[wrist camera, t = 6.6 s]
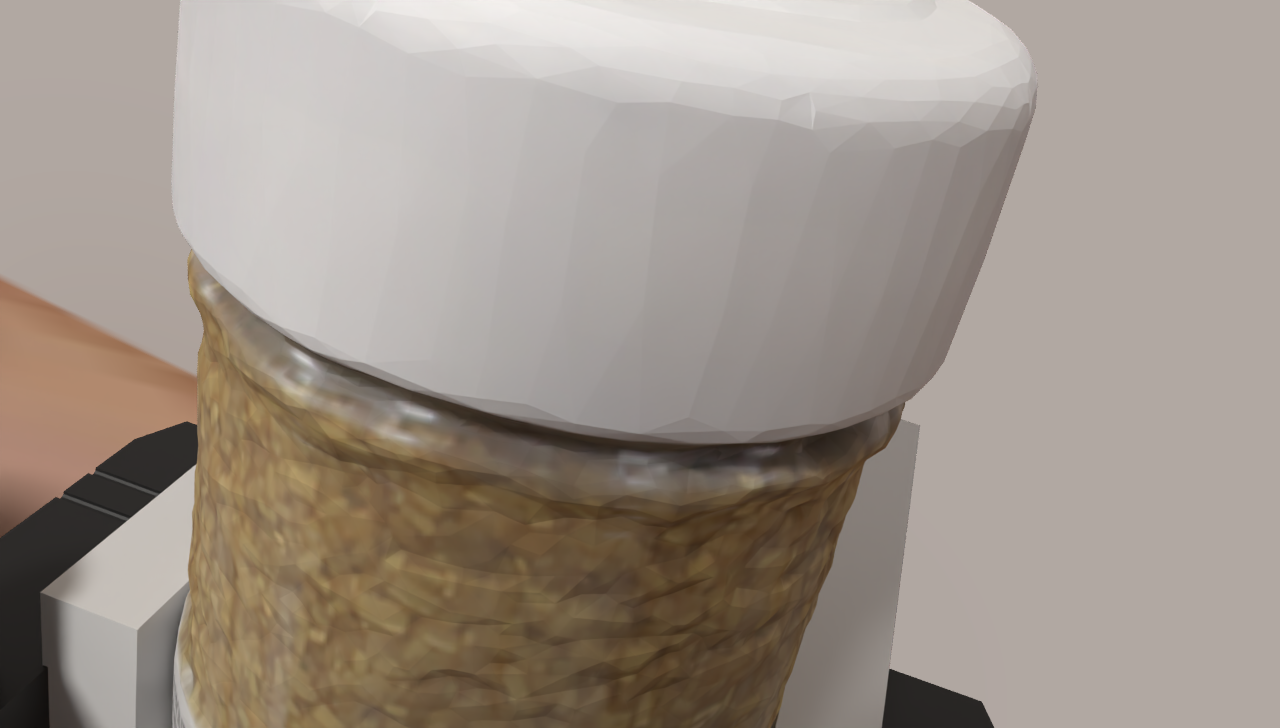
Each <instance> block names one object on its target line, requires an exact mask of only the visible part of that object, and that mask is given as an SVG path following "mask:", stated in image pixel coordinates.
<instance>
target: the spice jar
mask: <svg viewBox="0 0 1280 728" xmlns="http://www.w3.org/2000/svg"><path fill="white" fill-rule="evenodd" d="M1036 96H1037V72H1036V69H1035V66H1034V63H1033V61H1032V59H1031V56H1030V54H1029V52H1028V50H1027V48H1026V47H1025V45H1024V44H1023V43H1022V42H1021V41H1020V39H1019V38H1018V37H1017V36H1016V34H1015V33H1014V32H1013V31H1012V30H1011V29H1010V28H1009V27H1007V26H1006V25H1005V24H1003V23H1002V22H1001V21H999V20H998V19H997V18H995V17H994V16H992V15H991V14H989V13H988V12H986V11H985V10H983V9H981V8H980V7H979V6H977V5H976V4H974V3H972V2H970V1H968V0H180V11H179V27H178V44H177V60H176V76H175V95H174V123H173V124H174V125H173V153H172V154H173V155H172V183H171V185H172V203H173V210H174V214H175V217H176V221H177V224H178V227H179V229H180V231H181V233H182V235H183V236H184V238H185V239H186V241H187V242H188V244H189V246H190V247H191V252H190V254H189V257H188V281H189V289H190V295H191V296H192V298H193V300H194V302H195V304H196V306H197V308H198V310H199V312H200V314H201V317H202V321H203V326H204V333H203V338H202V343H201V346H200V349H199V352H198V368H197V434H198V455H197V464H196V469H195V482H194V506H193V510H192V537H191V545H190V554H189V562H188V578H189V586H190V590H189V593H188V595H187V597H186V600H185V604H184V608H183V613H182V617H181V621H180V625H179V630H178V637H177V644H176V650H175V657H174V677H173V707H172V728H771V726H772V724H773V722H774V720H775V718H776V716H777V714H778V712H779V710H780V708H781V705H782V700H783V695H784V690H785V685H786V683H787V681H788V679H789V677H790V675H791V673H792V670H793V667H794V664H795V661H796V658H797V655H798V651H799V648H800V645H801V642H802V639H803V636H804V632H805V629H806V627H807V625H808V623H809V622H810V620H811V618H812V616H813V613H814V610H815V608H816V605H817V601H818V595H819V592H820V590H821V588H822V586H823V584H824V582H825V579H826V577H827V575H828V573H829V571H830V569H831V567H832V564H833V559H834V553H835V549H836V545H837V541H838V537H839V534H840V532H841V530H842V527H843V524H844V521H845V517H846V515H847V513H848V511H849V509H850V508H851V506H852V504H853V501H854V499H855V497H856V493H857V489H858V485H859V482H860V477H861V474H862V470H863V466H864V463H865V461H866V460H867V459H869V458H870V457H872V456H874V455H875V454H877V453H878V452H880V451H882V450H883V449H885V448H886V447H887V445H888V443H889V442H890V440H891V438H892V437H893V435H894V433H895V432H896V430H897V427H898V425H899V423H900V420H901V415H902V411H903V409H904V406H905V402H906V401H908V400H910V399H911V398H912V397H913V396H914V395H915V394H916V393H917V392H918V391H920V389H922V388H923V386H925V384H927V383H928V382H929V381H930V380H931V379H932V378H933V376H934V375H935V374H936V372H937V371H938V369H939V368H940V366H941V365H942V364H943V362H944V360H945V358H946V355H947V353H948V350H949V348H950V345H951V342H952V340H953V338H954V335H955V333H956V330H957V327H958V325H959V322H960V320H961V317H962V315H963V312H964V310H965V307H966V305H967V302H968V299H969V297H970V295H971V292H972V289H973V287H974V284H975V282H976V279H977V277H978V274H979V272H980V269H981V267H982V264H983V261H984V259H985V256H986V253H987V250H988V247H989V244H990V242H991V239H992V236H993V233H994V230H995V227H996V224H997V221H998V218H999V215H1000V213H1001V210H1002V207H1003V204H1004V201H1005V198H1006V195H1007V192H1008V190H1009V186H1010V184H1011V180H1012V178H1013V175H1014V172H1015V169H1016V166H1017V163H1018V161H1019V157H1020V155H1021V152H1022V149H1023V146H1024V143H1025V140H1026V137H1027V134H1028V131H1029V128H1030V124H1031V121H1032V118H1033V115H1034V111H1035V108H1036Z"/></svg>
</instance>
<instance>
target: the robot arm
mask: <svg viewBox="0 0 1280 728" xmlns="http://www.w3.org/2000/svg"><path fill="white" fill-rule="evenodd" d="M919 430H920V425H916V424H914V423H910V422H907V421H904V420H900V423H899V425H898V427H897V430H896V432H895V433H894V435H893V437H892V438H891V440H890V442H889V443H888V445H887V447H886V448H885V449H883V450H882V451H880V452H878V453H877V454H875V455H874V456H872V457H870V458H869V459H867V460H866V461H865V463H864V466H863V470H862V474H861V477H860V482H859V485H858V489H857V493H856V497H855V499H854V501H853V504H852V506H851V508H850V509H849V511H848V513H847V515H846V517H845V521H844V524H843V527H842V530H841V532H840V534H839V537H838V541H837V545H836V549H835V553H834V559H833V564H832V567H831V569H830V571H829V573H828V575H827V577H826V579H825V582H824V584H823V586H822V588H821V590H820V592H819V595H818V601H817V605H816V608H815V610H814V613H813V616H812V618H811V620H810V622H809V623H808V625H807V627H806V629H805V632H804V636H803V639H802V642H801V645H800V648H799V651H798V655H797V658H796V661H795V664H794V667H793V670H792V673H791V675H790V677H789V679H788V681H787V683H786V685H785V690H784V695H783V700H782V705H781V708H780V710H779V712H778V714H777V716H776V718H775V720H774V722H773V724H772V726H771V728H994V726H993V724H992V722H991V720H990V718H989V716H988V714H987V712H986V710H985V708H984V705H983V703H982V702H981V701H978V700H975V699H973V698H970V697H967V696H964V695H962V694H959V693H956V692H953V691H950V690H947V689H945V688H942V687H939V686H936V685H934V684H931V683H928V682H925V681H922V680H920V679H917V678H914V677H911V676H908V675H905V674H903V673H900V672H897V671H894V670H892V669H889V666H890V658H891V650H892V642H893V633H894V627H895V618H896V611H897V602H898V595H899V587H900V578H901V571H902V564H903V556H904V548H905V540H906V532H907V524H908V515H909V509H910V500H911V491H912V484H913V476H914V469H915V461H916V453H917V445H918V437H919ZM197 455H198V434H197V425H195V424H192V423H190V422H184V423H181V424H178V425H175V426H172V427H169V428H166V429H163V430H160V431H157V432H155V433H152V434H149V435H146V436H143V437H140V438H137V439H134V440H133V441H132V442H130V443H129V444H128V445H126V446H125V447H124V448H122V449H121V450H119V451H118V452H117V453H115V454H114V455H113V456H111V457H110V458H109V459H107V460H106V461H104V462H103V463H102V464H100V465H99V466H98V467H96V470H95V472H94V474H93V475H91V474H89V473H88V474H87V475H85V476H84V477H83V478H81V479H80V480H79V481H77V482H76V483H74V484H73V485H72V486H70V487H69V488H68V489H66V490H65V491H64V494H63V496H62V497H61V498H60V499H59V498H57V497H55V498H54V499H53V500H51V501H50V502H49V503H47V504H46V505H45V506H43V507H42V508H40V509H39V510H38V511H36V512H35V513H34V514H32V515H31V516H30V517H28V518H27V519H25V520H24V521H23V522H21V523H20V524H19V525H17V526H16V527H15V528H13V529H12V530H10V531H9V532H8V533H6V534H5V535H4V536H2V537H1V538H0V728H172V707H173V677H174V657H175V650H176V644H177V637H178V630H179V625H180V621H181V617H182V613H183V608H184V604H185V600H186V597H187V595H188V593H189V590H190V586H189V578H188V562H189V554H190V545H191V537H192V510H193V506H194V482H195V469H196V464H197Z"/></svg>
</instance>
